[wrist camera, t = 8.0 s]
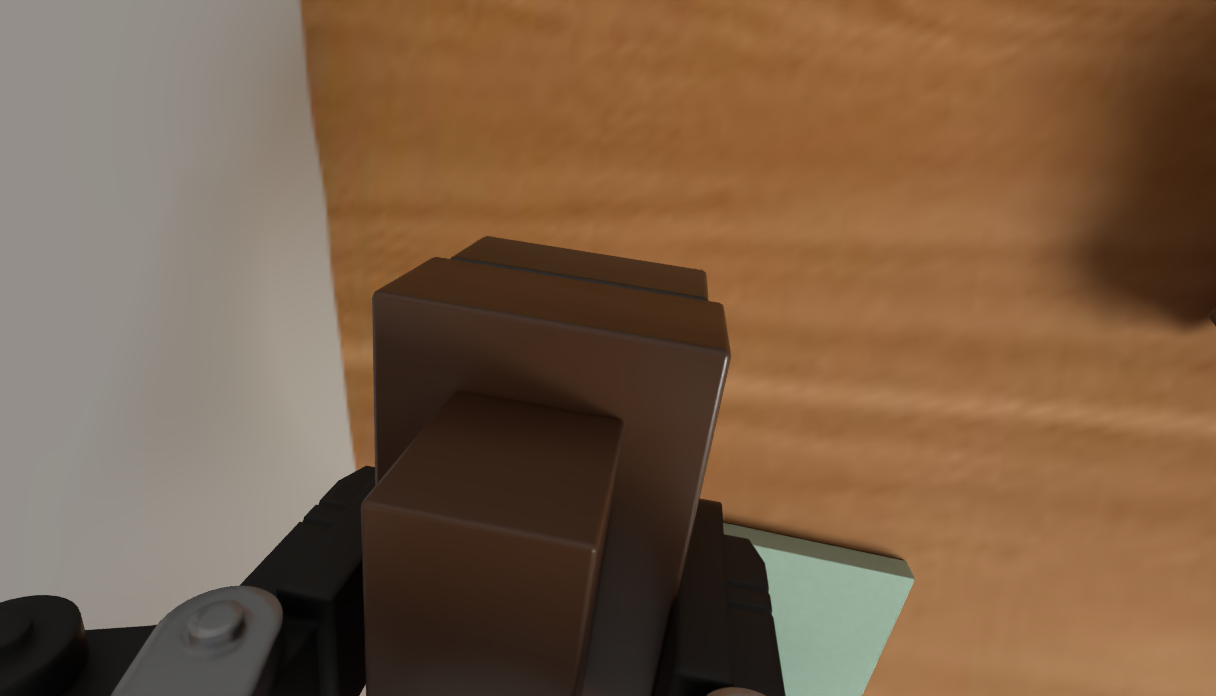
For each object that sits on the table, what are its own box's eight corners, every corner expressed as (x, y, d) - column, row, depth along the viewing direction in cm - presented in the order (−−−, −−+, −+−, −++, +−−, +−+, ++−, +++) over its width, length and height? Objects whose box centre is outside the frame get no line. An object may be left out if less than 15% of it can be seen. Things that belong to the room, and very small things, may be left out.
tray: (566, 704, 34) (562, 724, 33) (607, 497, 29) (604, 513, 28) (817, 761, 34) (821, 783, 33) (906, 560, 28) (915, 579, 27)
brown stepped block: (472, 232, 10) (229, 371, 5) (720, 272, 10) (750, 464, 4) (452, 645, 13) (300, 987, 8) (635, 682, 13) (598, 1062, 8)
